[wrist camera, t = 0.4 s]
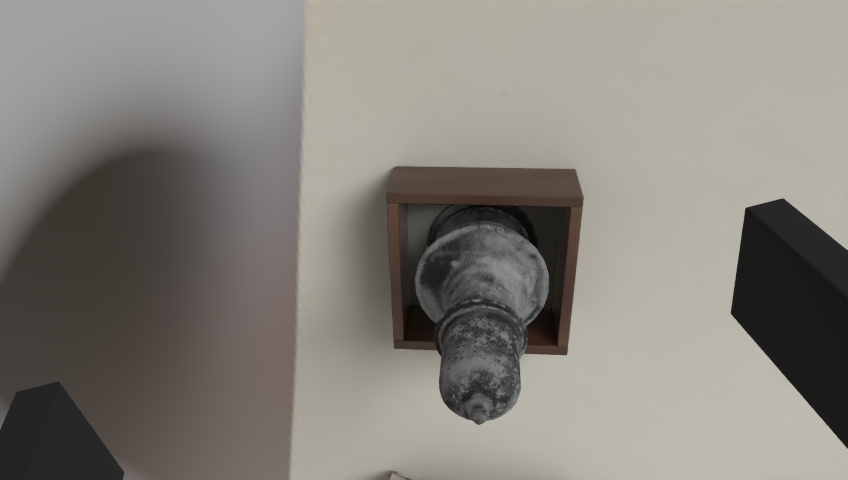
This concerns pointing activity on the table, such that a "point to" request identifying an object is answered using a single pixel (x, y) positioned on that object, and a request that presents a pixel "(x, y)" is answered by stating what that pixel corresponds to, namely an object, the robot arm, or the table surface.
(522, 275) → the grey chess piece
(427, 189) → the shaker holder
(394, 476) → the geological specimen
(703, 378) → the table surface
